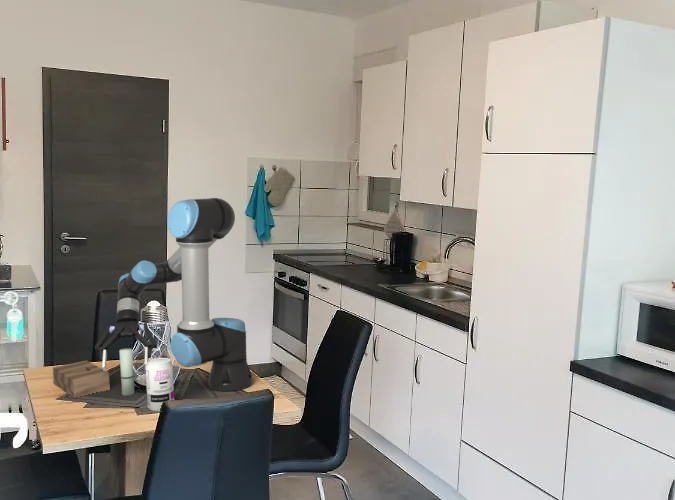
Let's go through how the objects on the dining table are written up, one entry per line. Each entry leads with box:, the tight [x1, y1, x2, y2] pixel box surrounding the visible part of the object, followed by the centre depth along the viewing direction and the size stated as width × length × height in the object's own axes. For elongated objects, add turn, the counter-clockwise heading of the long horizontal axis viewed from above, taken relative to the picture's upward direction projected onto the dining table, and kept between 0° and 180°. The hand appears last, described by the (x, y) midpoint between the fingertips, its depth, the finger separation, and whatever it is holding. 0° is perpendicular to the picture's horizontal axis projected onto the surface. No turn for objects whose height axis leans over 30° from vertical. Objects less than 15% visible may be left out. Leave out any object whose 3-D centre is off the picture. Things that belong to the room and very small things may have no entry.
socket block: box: [52, 360, 111, 399], centre depth 235 cm, size 20×12×6 cm, turn 41°
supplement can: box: [144, 357, 175, 412], centre depth 213 cm, size 8×8×15 cm
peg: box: [119, 347, 135, 396], centre depth 226 cm, size 4×4×15 cm
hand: (125, 367), depth 227 cm, fingers open, 13 cm apart
